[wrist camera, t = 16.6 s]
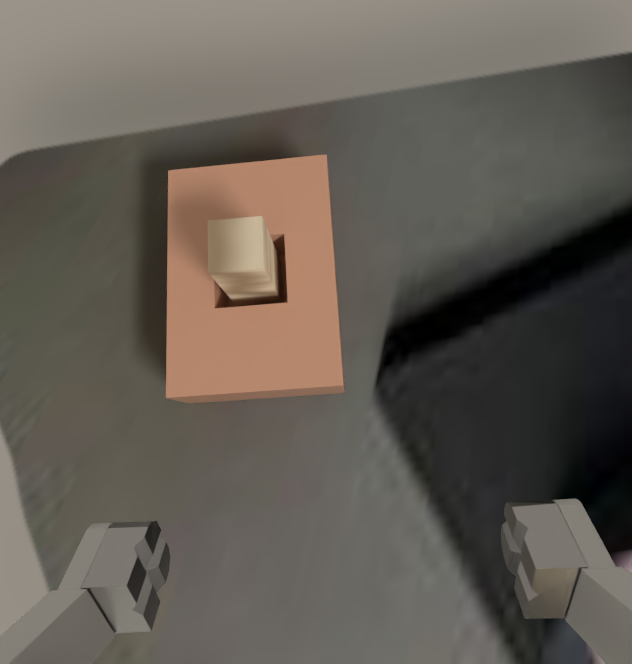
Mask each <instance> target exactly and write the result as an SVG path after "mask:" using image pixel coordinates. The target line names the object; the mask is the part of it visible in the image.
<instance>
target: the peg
mask: <svg viewBox="0 0 632 664" xmlns="http://www.w3.org/2000/svg"><path fill="white" fill-rule="evenodd" d="M208 273H209V274H210V276H211V277H212V278H213V279H214V280H215V281H216V282H217V284H218V285H219V286H220V287H221V288H222V289H223V290H224V292H225V293H226V294H227V295H228V296H229V297H230V299H231V300H232V301H233V302H234V303H235V304H236V305H237V307H239V306H251V305H263V304H275V303H284V289H283V267H282V263H281V261H280V258H279V256H278V253H277V251H276V248H275V246H274V244H273V241H272V239H271V236H270V234H269V232H268V229H267V227H266V224H265V222H264V219H263V217H262V216H255V217H244V218H233V219H222V220H211V221H208Z"/></svg>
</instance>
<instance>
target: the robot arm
mask: <svg viewBox="0 0 632 664" xmlns="http://www.w3.org/2000/svg"><path fill="white" fill-rule="evenodd" d="M504 514H505V517H506V520H507V522H505V523H504V524H503V525H502V530H501V542H502V549H503V554H504V558H505V561H506V564H507V567H508V569H509V570H510V571H511V572H512V573H514V574H515V575H516V582H515V587H514V588H515V591H516V594H517V597H518V600H519V603H520V606H521V609H522V612H523V615H524V618H566V621H567V622H568V624H569V625H570V626H571V627H572V628H573V629H574V630H575V631H576V632H577V633H578V634H579V635H580V636H581V637H582V638H583V640H584V641H585V642H586V643H587V644H588V645H589V646H590V647H591V648H592V649H593V650H594V651H595V652H596V653H597V654H598V655H599V657H600V658H601V659H602V660H603V661H604V662H605V663H606V664H632V573H630V572H629V571H628V570H627V569H625V568H624V567H616V566H615V564H614V562H613V561H612V559H611V557H610V555H609V553H608V551H607V550H606V548H605V546H604V544H603V542H602V540H601V539H600V537H599V535H598V533H597V531H596V529H595V527H594V526H593V524H592V522H591V520H590V518H589V516H588V515H587V513H586V511H585V509H584V507H583V505H582V503H581V502H580V501H578V500H577V499H562V500H536V501H521V502H507V504H506V505H505V509H504ZM160 531H161V529H160V527H159V525H158V523H157V521H146V522H110V523H93V524H92V525H91V526H90V527H89V528H88V529H87V530H86V532H85V534H84V536H83V538H82V540H81V542H80V545H79V547H78V549H77V551H76V553H75V555H74V557H73V559H72V561H71V563H70V565H69V567H68V569H67V571H66V573H65V576H64V578H63V580H62V582H61V584H60V586H59V588H58V590H51V591H50V592H49V593H48V594H47V595H46V596H45V597H43V598H42V599H41V600H40V601H39V602H38V603H37V604H36V605H35V606H33V607H32V608H31V609H30V610H29V611H28V612H27V613H26V614H24V616H22V617H21V618H20V619H19V620H18V621H17V622H16V623H14V624H13V625H12V626H11V627H10V628H9V629H8V630H7V631H5V632H4V633H3V634H2V635H1V636H0V664H93V663H94V662H95V661H96V660H97V658H98V657H99V656H100V655H101V653H102V652H103V651H104V650H105V648H106V647H107V646H108V645H109V643H110V642H111V641H112V640H113V638H114V637H115V633H129V632H145V631H152V627H153V624H154V621H155V617H156V614H157V610H158V607H159V604H160V600H159V598H158V595H157V593H156V592H157V591H158V590H159V589H160V588H161V587H162V586H163V585H164V584H165V583H166V579H167V576H168V572H169V564H170V553H169V547H168V545H167V543H166V541H164V540H163V539H161V538H160V537H159V534H160Z"/></svg>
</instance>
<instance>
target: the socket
mask: <svg viewBox="0 0 632 664" xmlns="http://www.w3.org/2000/svg"><path fill="white" fill-rule="evenodd" d="M255 216H262V217H263V219H264V222H265V224H266V227H267V229H268V232H269V234H270V236H271V239H272V241H273V244H274V246H275V248H276V251H277V253H278V256H279V258H280V261H281V263H282V267H283V289H284V303H275V304H263V305H251V306H239V307H237V305H236V304H235V303H234V302H233V301H232V300H231V299H230V297H229V296H228V295H227V294H226V293H225V292H224V290H223V289H222V288H221V287H220V286H219V285H218V284H217V282H216V281H215V280H214V279H213V278H212V277H211V276H210V274H209V273H208V221H211V220H222V219H233V218H244V217H255ZM334 393H345V385H344V372H343V358H342V345H341V331H340V318H339V304H338V291H337V277H336V264H335V250H334V237H333V223H332V210H331V196H330V184H329V174H328V164H327V155H316V156H306V157H296V158H286V159H276V160H267V161H257V162H247V163H237V164H227V165H217V166H207V167H197V168H187V169H178V170H168V248H167V349H166V398H168V399H173V400H177V401H181V402H185V403H204V402H218V401H233V400H247V399H262V398H276V397H290V396H305V395H319V394H334Z"/></svg>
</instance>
